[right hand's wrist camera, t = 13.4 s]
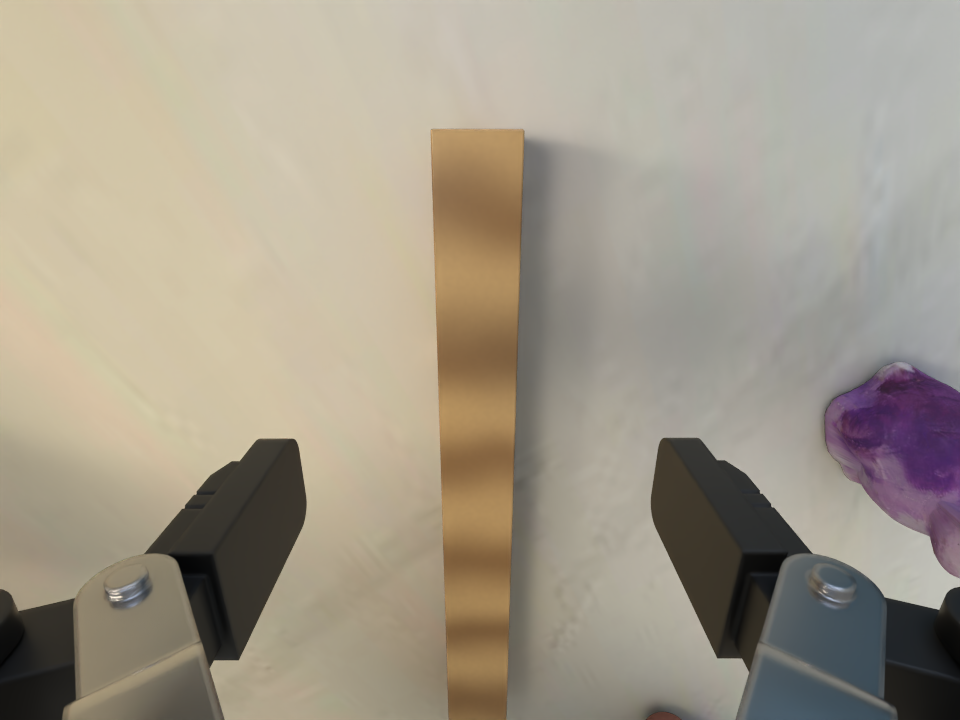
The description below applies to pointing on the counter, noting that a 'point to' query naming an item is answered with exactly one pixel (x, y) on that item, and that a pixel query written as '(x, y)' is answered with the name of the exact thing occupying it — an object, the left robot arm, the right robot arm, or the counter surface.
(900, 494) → the figurine
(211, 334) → the counter surface
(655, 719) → the black wheeled block
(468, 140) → the post
